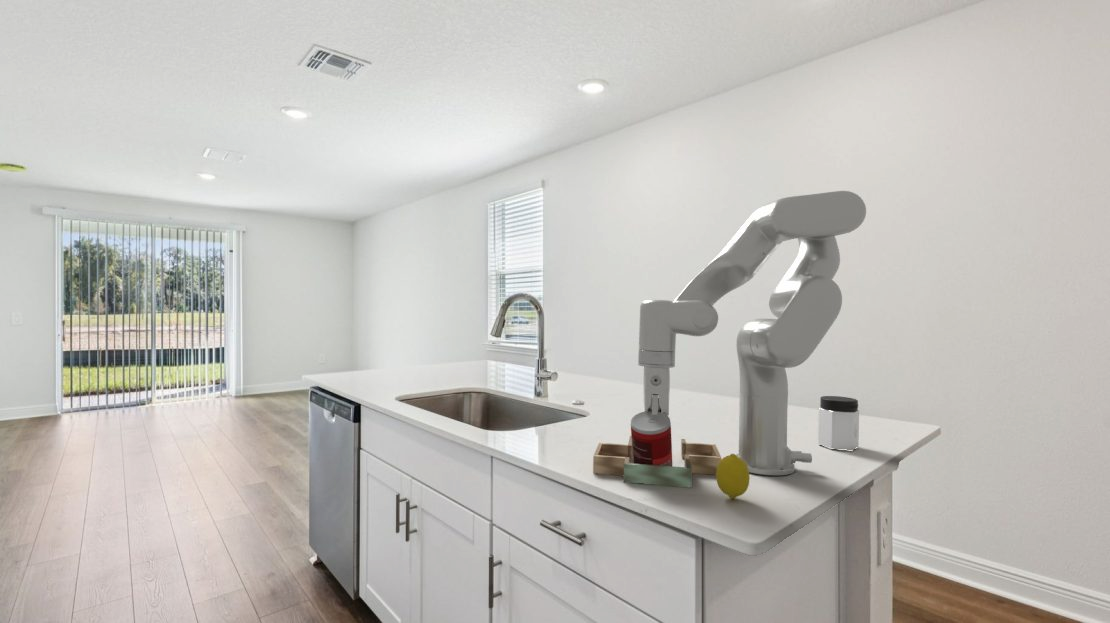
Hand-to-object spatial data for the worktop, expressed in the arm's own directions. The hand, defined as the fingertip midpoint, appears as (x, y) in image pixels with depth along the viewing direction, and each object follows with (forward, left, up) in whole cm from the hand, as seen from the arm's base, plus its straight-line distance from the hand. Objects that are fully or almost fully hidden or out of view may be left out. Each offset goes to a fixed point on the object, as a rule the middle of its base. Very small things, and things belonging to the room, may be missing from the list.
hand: (653, 446), depth 106 cm
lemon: (-14, +14, -5) cm, 20 cm away
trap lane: (-1, -2, -5) cm, 5 cm away
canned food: (0, +4, -4) cm, 6 cm away
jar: (-45, -29, -5) cm, 53 cm away
